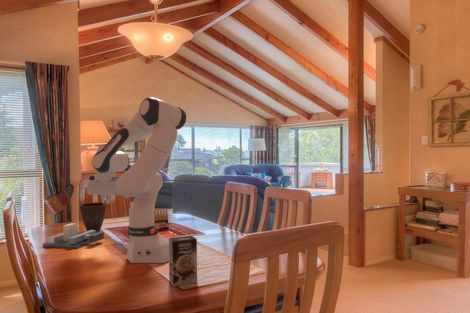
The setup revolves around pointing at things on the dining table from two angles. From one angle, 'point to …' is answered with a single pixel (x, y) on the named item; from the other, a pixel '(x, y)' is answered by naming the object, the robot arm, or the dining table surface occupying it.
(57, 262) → the dining table surface
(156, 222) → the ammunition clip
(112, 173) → the robot arm
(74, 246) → the vise bed
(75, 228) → the block
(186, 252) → the coffee box
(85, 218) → the plant pot
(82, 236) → the vise jaw
